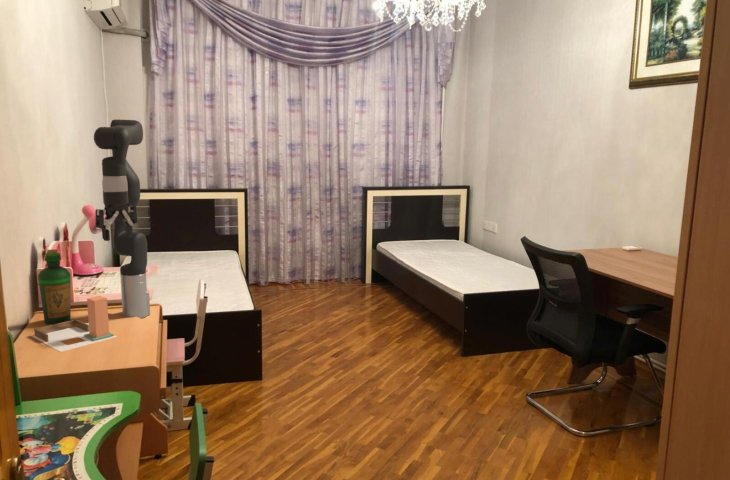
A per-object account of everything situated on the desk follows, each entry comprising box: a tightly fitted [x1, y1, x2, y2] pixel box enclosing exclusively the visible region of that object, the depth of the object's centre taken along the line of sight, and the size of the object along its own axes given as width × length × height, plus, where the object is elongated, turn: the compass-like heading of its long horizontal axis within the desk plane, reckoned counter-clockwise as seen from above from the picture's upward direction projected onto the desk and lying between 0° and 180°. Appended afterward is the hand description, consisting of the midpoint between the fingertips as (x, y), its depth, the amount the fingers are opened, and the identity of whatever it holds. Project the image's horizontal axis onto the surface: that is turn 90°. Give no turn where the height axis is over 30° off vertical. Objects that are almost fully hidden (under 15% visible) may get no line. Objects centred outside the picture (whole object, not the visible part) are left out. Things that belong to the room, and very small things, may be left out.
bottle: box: [37, 248, 72, 326], centre depth 209 cm, size 11×11×28 cm
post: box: [86, 295, 110, 338], centre depth 195 cm, size 4×4×13 cm
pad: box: [84, 331, 115, 341], centre depth 196 cm, size 7×7×1 cm
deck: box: [31, 322, 118, 353], centre depth 196 cm, size 19×22×1 cm
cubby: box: [33, 319, 89, 342], centre depth 198 cm, size 14×9×2 cm, turn 141°
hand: (118, 238), depth 188 cm, fingers open, 8 cm apart
